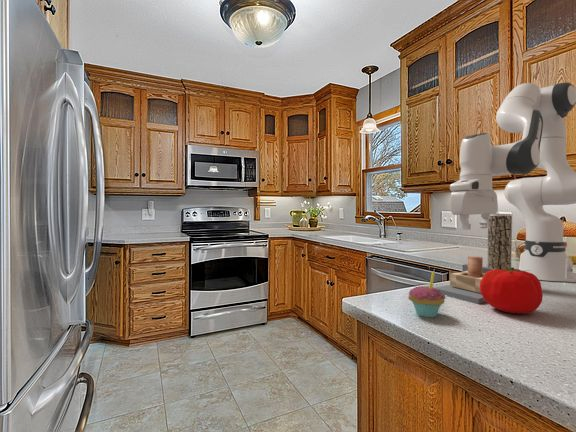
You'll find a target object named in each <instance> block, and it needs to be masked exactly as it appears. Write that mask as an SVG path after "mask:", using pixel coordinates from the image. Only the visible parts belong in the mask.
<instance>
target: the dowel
mask: <svg viewBox="0 0 576 432" xmlns="http://www.w3.org/2000/svg"><path fill="white" fill-rule="evenodd" d="M467 264H468V276H472V277H477V278H481V277H482V267H483V257H482V256H474V255H473V256H472V255H470V256H467Z"/></svg>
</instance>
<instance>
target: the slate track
mask: <svg viewBox="0 0 576 432" xmlns="http://www.w3.org/2000/svg"><path fill="white" fill-rule="evenodd" d="M490 270H494V268H488V266H487V267H486V266H482V273H486V272H488V271H490ZM463 271H468V263H467V264H466V263H465V264H462V272H463ZM434 288H436V289H437V290H439V291H440V292H442V294H444V296H445V295H447V297H449V296H450V298H453V297H454V298H453V299H457V298H458V300H461V299H462V300H461V301H465V302H469V303H472V304H477V305H479V304H483V303H487V302H486V301H485V299H484V298H483V296H482V295H481V293H478V292H474V291H470V290H465V289H461V288H456V287H452V286H450V284H446V285H440V286H436V287H434Z"/></svg>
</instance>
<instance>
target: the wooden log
mask: <svg viewBox="0 0 576 432" xmlns="http://www.w3.org/2000/svg"><path fill="white" fill-rule="evenodd" d="M512 219H513V215H512V214H511V213H496V214H490V219H489V221H488V227H487V268H494V269H507V268H509V269H511V267H512V243H513V242H512V238H513V237H512V232H513V228H512V227H513V222H512V221H513V220H512Z"/></svg>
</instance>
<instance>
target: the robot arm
mask: <svg viewBox="0 0 576 432" xmlns="http://www.w3.org/2000/svg"><path fill="white" fill-rule="evenodd" d="M575 106H576V88H575V86H574V85H573V84H572V82H571V83H570V82H559V83H555V84H554V85H553V84H552V85H548V86H545V87H539V86H538V85H536V84H535V83H532V82H524V83H521V84H518V85H517V86H515V87H513V89H512V90H511V91H509V93H508V94H507V95H506V96H505V98H504V99H503V101H502V102H501V103H500V106H499V108H498V109H497V112H496V116H495V121H496V124H497V126H498V127H499V129H501V130H503V131H505V132H507V133H509V134H522V136H521V139H520V140H518V141H517V140H516V141H515V142H510V143H505V144H499V145H494V144H492V139H491V134H490V133H487V132H486V133H485V132H482V133H476V134H472V135H467V136H465V137H463V138H462V140H461V143H460V147H459V150H460V151H459V166H460V173H459V180H457V181H455V182H453V183H451V184H450V185H449V190H450V191H451V194H450V201H449V202H450V203H449V204H450V205H449V206H450V207H449V208H450V213H451V214H452V215H453V216H459V220H460V223H461V224H462V225H461V226H462V230H463V231H464V230H465V231H466V230H468V231H469V230H471V226H472V225H471V223H470V222H469V219H470V216H472V215H473V216H474V215H476V216H477V215H480V218H481V220H480V222H479V228H480V229H488V221H489V219H490V214H498V210H499V205H498V194H497V192H496V191H495V189H493V176H494V177H496V176H497V177H498V176H508V175H529V174H530V173H531V172H533V171H534V170H535V169H536V168H537V169H541V170H543V171H546V175H545V176H535V177H522V178H517V179H513V180H510V181H509V182H507V184H506V185H505V187H504V192H503V193H504V197H505V200H506V201H507V202H508V203H509V204H510V205H513V206H514V207H516V209H517V210H518V211H519V212H520V213H521V215H522V217H523V219H524V222H525V223H524V224H525V240H524V244H523V245H524V251H523V252H521V253H520V258H519V268H518V269H519V270H520V271H521V270H522V271H526V272H529V273H532V274H534V275H535V276H536V277H537V278H538V280H539V281H548V282H564V283H566V282H567V283H576V272H573V271H574V266H573V265H574V263H573V260H572V259H571V258H570V257H569V256H568V255H567V253H566V252H567V251H566V248H567V247H568V243H567V242H566V241H564V222H563V221H562V219H561V218H559V216H556V215H553V214H550V213H548V212H546V211H545V210H544V206H563V205H564V206H567V205H575V204H576V171H575V170H574V169H573V168H572V167H571V166H570V163H569V162H568V159H567V130H566V129H567V127H566V123H565V117H567V116H568V114H569V112H571V111H572V109H574V107H575ZM527 270H529V271H527Z"/></svg>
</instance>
